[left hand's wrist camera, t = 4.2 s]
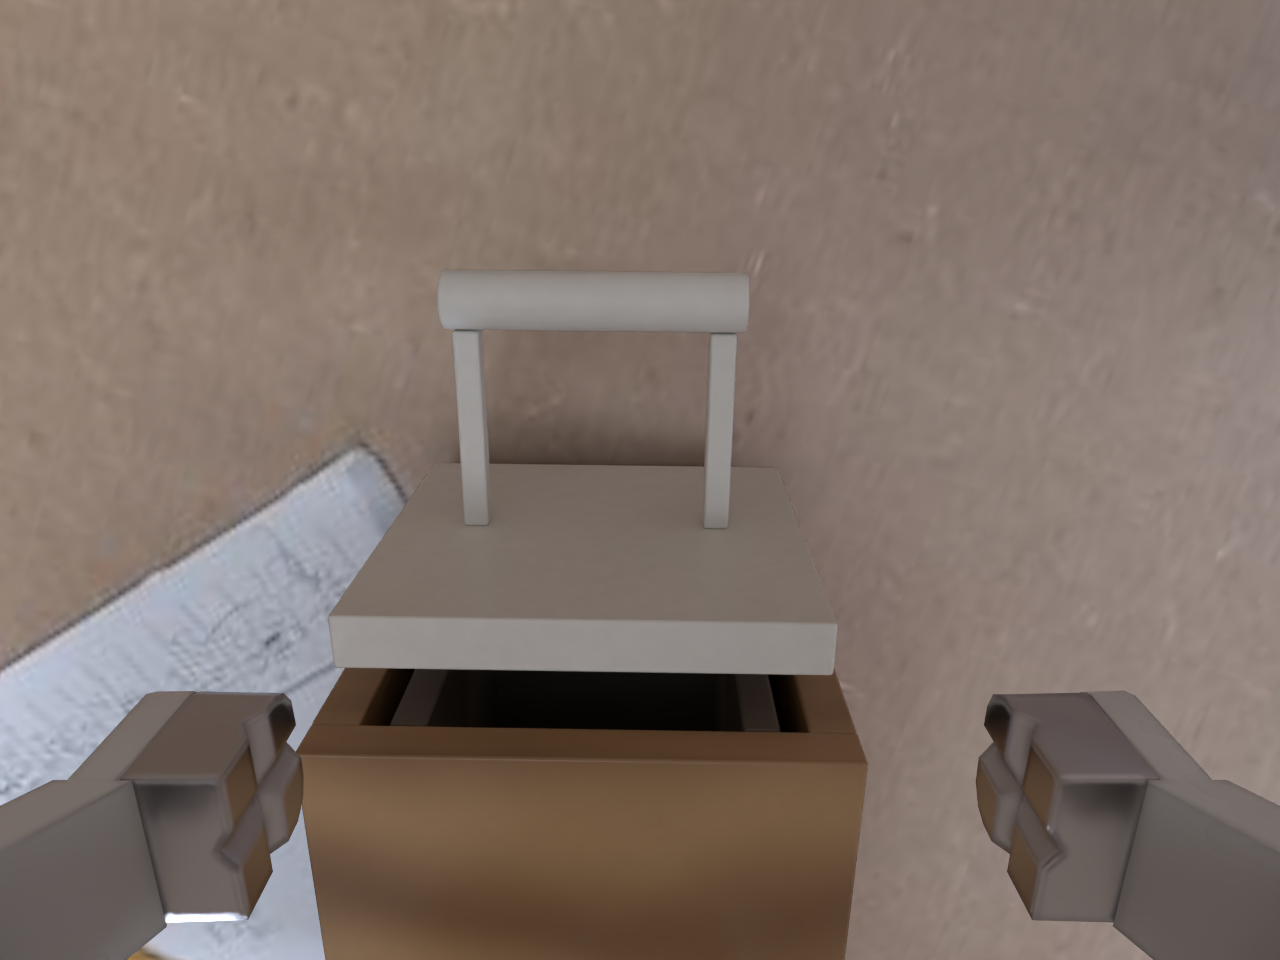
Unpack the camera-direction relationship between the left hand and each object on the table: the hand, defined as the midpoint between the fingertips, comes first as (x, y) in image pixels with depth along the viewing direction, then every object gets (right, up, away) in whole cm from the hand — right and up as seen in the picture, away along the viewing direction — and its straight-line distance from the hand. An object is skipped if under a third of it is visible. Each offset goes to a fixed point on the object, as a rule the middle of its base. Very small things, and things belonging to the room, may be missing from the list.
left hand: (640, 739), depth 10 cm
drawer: (-1, -1, +17) cm, 17 cm away
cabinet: (-1, -7, +20) cm, 22 cm away
